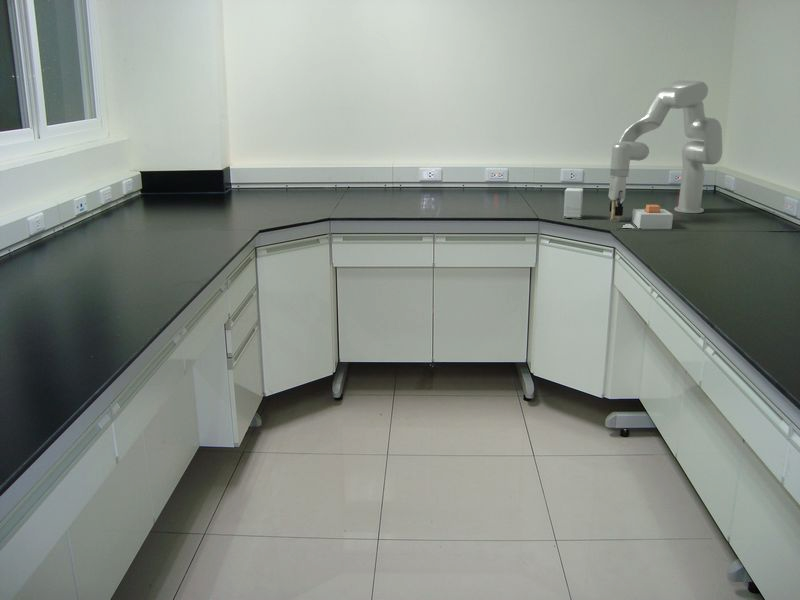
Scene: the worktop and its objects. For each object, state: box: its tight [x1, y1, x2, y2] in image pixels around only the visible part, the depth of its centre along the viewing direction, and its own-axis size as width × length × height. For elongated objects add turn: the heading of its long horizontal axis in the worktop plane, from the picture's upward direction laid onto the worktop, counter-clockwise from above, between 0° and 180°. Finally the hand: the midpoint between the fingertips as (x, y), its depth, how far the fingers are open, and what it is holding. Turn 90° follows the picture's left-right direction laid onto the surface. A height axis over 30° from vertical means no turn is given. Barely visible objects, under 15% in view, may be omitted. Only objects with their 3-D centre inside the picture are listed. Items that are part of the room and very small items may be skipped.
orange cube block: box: [645, 204, 662, 213], centre depth 304 cm, size 5×5×5 cm
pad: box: [622, 223, 636, 230], centre depth 304 cm, size 8×8×1 cm
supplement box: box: [563, 187, 584, 218], centre depth 322 cm, size 7×7×13 cm
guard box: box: [631, 208, 674, 230], centre depth 305 cm, size 12×13×6 cm
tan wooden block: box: [610, 200, 621, 221], centre depth 315 cm, size 3×3×10 cm
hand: (615, 213), depth 315 cm, fingers open, 8 cm apart
